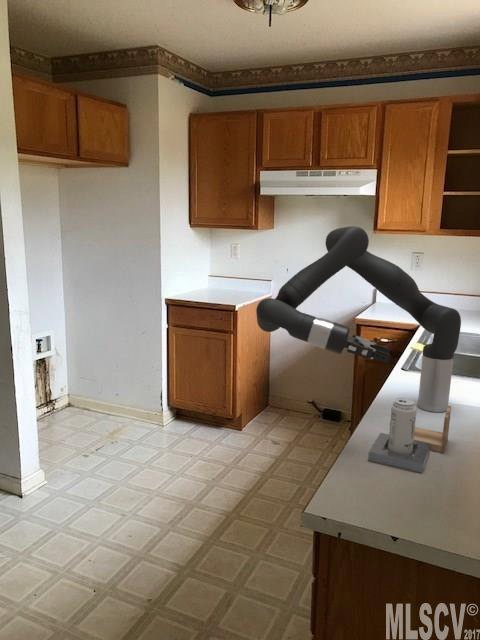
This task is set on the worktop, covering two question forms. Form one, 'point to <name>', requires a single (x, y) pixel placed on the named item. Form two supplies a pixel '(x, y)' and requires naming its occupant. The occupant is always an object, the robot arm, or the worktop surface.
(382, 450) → the socket block
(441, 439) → the wooden l-shaped stand
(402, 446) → the energy drink can
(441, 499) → the worktop surface
